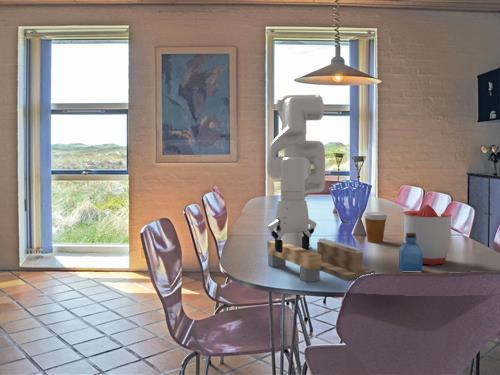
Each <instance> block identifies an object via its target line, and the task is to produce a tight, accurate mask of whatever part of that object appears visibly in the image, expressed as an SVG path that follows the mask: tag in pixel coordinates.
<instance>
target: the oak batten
mask: <svg viewBox="0 0 500 375" xmlns="http://www.w3.org/2000/svg"><path fill="white" fill-rule="evenodd" d="M266 244H267V247H266V249H267V254H269V253H270V254H272V255H275V256H277V257H280V258H282V259H285V260H286V261H287V262H289V263H292V264H295V265H297V266H299V267H300V266H302V267H304V268H307V269H309V270H311V269H319V268H321V254H318V253H317V252H315V251H311V250H310V249H309V250H306V249H303V248H300V247H297V246H294V245H291V244H288V243H285V242H283V251H282V253H279V252H276V249H275V239H273V240H267V243H266Z"/></svg>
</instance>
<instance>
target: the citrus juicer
mask: <svg viewBox="0 0 500 375" xmlns="http://www.w3.org/2000/svg"><path fill="white" fill-rule="evenodd" d="M403 214H404V215H403V216H404V217H403V219H404V220H403V243H406V240H405V237H406V233H416V238H417V240H416V242H415V243H417V244H418V246H419V248H420V250H421V252H422V254H423V256H422V265H423V264H424V265H428V264H429V265H428V266H434V265H441V264H444V263H445V261H446V259H447V257H448V256H447V255H448V253H449V251H450V247H451V235H452V234H451V230H452V229H451V228H452V227H451V226H452V216H453V214H452V213H450V212H443V213H441V214H440V215H439V216H438V214H437V211H435V209H434V208H433V207H432V206H431V205H430V204H425V205H424V206H423V207H421V209H420V210H406V211H405V210H404V211H403Z"/></svg>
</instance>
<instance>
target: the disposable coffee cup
mask: <svg viewBox="0 0 500 375" xmlns="http://www.w3.org/2000/svg"><path fill="white" fill-rule="evenodd" d="M363 217H364V223H365V229H366V230H365V232H366V239H367V240H366V241H367V242H368V243H373V244H376V243H377V244H379V243H383V242H384V235H385V229H386V222H387V218H388V216H387V213H385V212H378V211H376V212H375V211H374V212H373V211H372V212H371V211H369V212H365V214H364V216H363Z"/></svg>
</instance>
